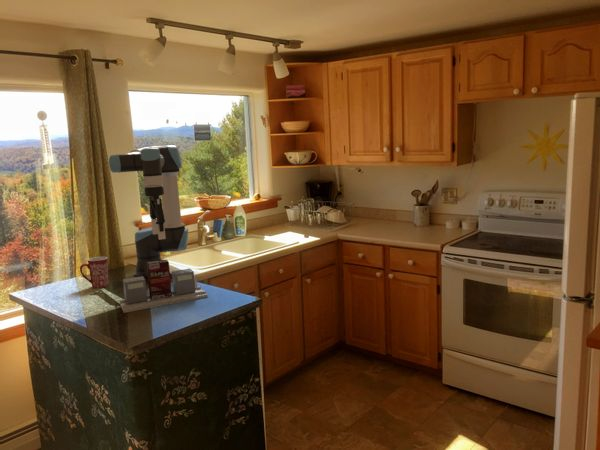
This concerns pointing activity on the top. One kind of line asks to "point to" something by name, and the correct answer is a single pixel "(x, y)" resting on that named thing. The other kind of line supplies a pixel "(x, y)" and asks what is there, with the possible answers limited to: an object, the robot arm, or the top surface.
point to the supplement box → (159, 279)
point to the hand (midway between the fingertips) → (159, 236)
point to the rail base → (181, 292)
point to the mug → (97, 271)
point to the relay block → (195, 281)
